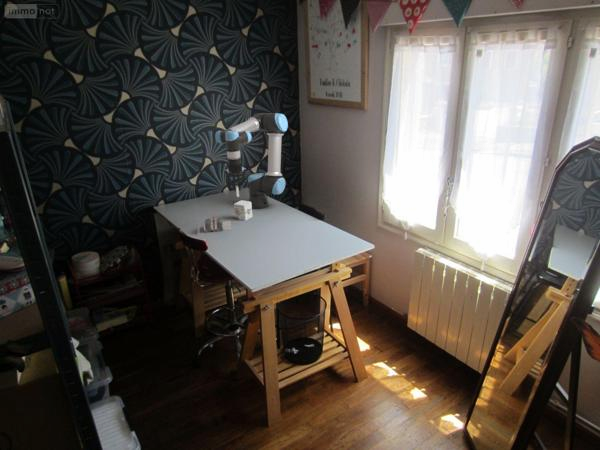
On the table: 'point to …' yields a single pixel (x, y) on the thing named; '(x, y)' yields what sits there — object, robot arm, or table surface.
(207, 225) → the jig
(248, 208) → the ink box
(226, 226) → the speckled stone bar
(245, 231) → the table surface
